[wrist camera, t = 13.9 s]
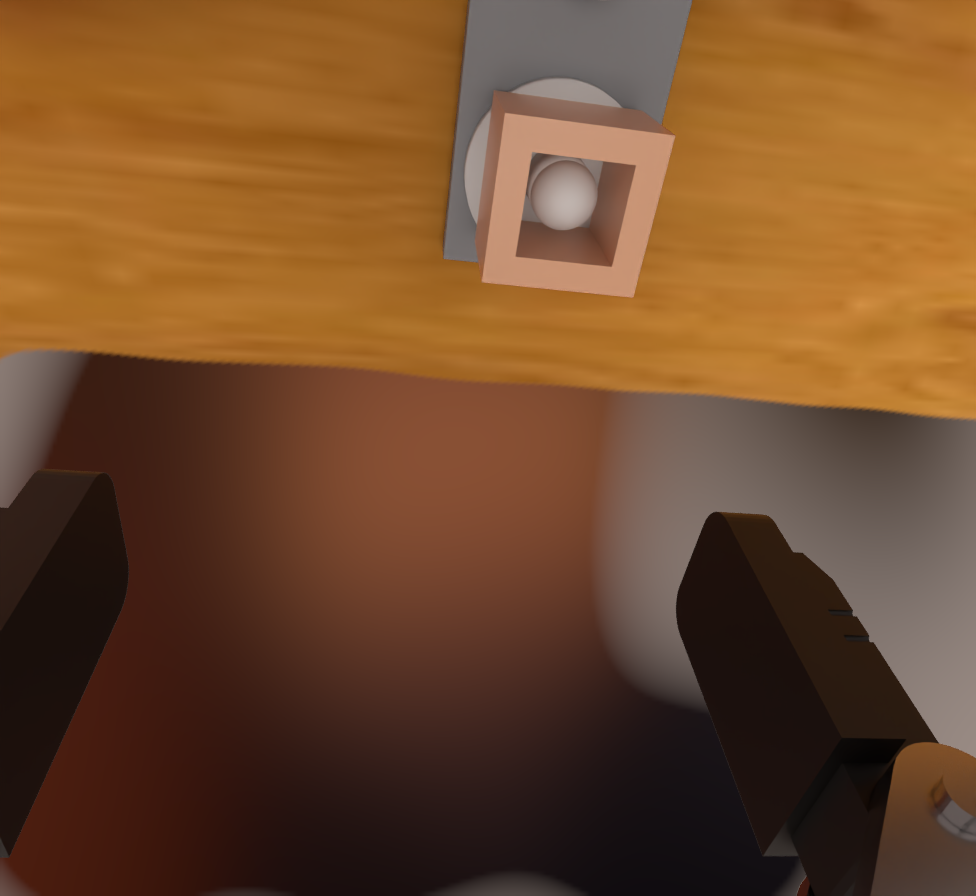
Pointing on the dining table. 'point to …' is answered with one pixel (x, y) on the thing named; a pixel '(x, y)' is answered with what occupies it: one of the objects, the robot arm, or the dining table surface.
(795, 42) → the dining table surface
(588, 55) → the hub base
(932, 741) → the robot arm
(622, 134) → the collar
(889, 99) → the dining table surface
